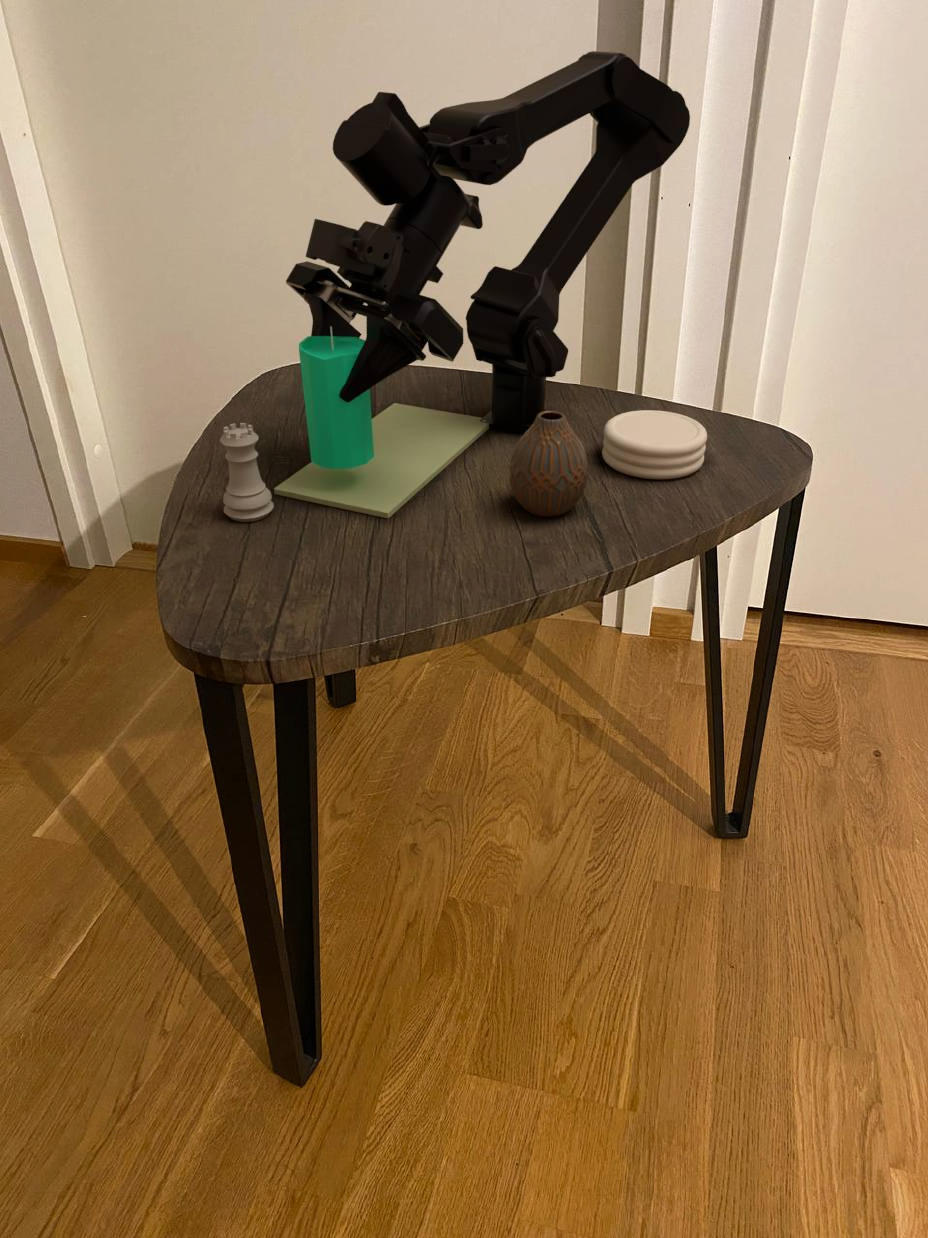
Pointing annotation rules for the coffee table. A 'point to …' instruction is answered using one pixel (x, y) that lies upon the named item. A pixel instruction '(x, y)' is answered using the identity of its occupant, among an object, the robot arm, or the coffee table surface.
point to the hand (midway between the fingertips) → (324, 391)
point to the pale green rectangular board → (390, 461)
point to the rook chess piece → (244, 476)
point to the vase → (548, 466)
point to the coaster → (654, 444)
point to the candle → (334, 403)
